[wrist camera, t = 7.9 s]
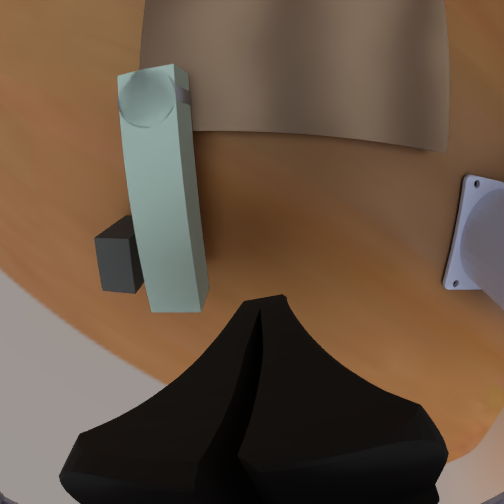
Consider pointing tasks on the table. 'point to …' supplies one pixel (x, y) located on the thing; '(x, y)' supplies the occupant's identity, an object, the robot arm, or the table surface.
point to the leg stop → (119, 258)
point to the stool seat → (309, 66)
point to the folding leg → (163, 186)
